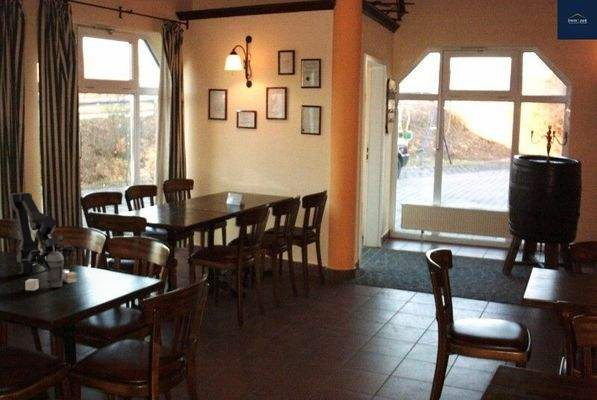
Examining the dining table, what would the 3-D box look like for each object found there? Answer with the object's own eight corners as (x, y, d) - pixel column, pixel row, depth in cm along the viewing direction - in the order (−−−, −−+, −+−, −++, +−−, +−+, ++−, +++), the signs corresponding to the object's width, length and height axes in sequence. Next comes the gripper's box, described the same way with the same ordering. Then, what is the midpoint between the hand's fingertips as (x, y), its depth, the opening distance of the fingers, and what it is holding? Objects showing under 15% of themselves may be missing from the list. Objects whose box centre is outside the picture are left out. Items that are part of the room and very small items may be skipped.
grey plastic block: (25, 290, 282) (25, 281, 281) (29, 287, 286) (29, 279, 285) (34, 290, 281) (34, 281, 281) (38, 288, 285) (38, 279, 285)
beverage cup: (53, 289, 280) (51, 243, 277) (44, 286, 285) (42, 241, 282) (68, 285, 286) (66, 241, 283) (59, 282, 290) (57, 238, 287)
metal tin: (53, 280, 298) (52, 271, 297) (61, 277, 304) (61, 268, 303) (64, 281, 296) (63, 273, 295) (72, 278, 302) (72, 270, 301)
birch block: (64, 281, 296) (64, 273, 295) (73, 280, 299) (72, 271, 298) (68, 283, 293) (68, 274, 292) (76, 281, 296) (76, 273, 295)
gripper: (29, 232, 278) (40, 262, 272) (71, 227, 291) (82, 256, 285) (23, 247, 285) (33, 277, 279) (64, 241, 298) (75, 269, 291)
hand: (57, 269), depth 283 cm, fingers closed on beverage cup, 7 cm apart
